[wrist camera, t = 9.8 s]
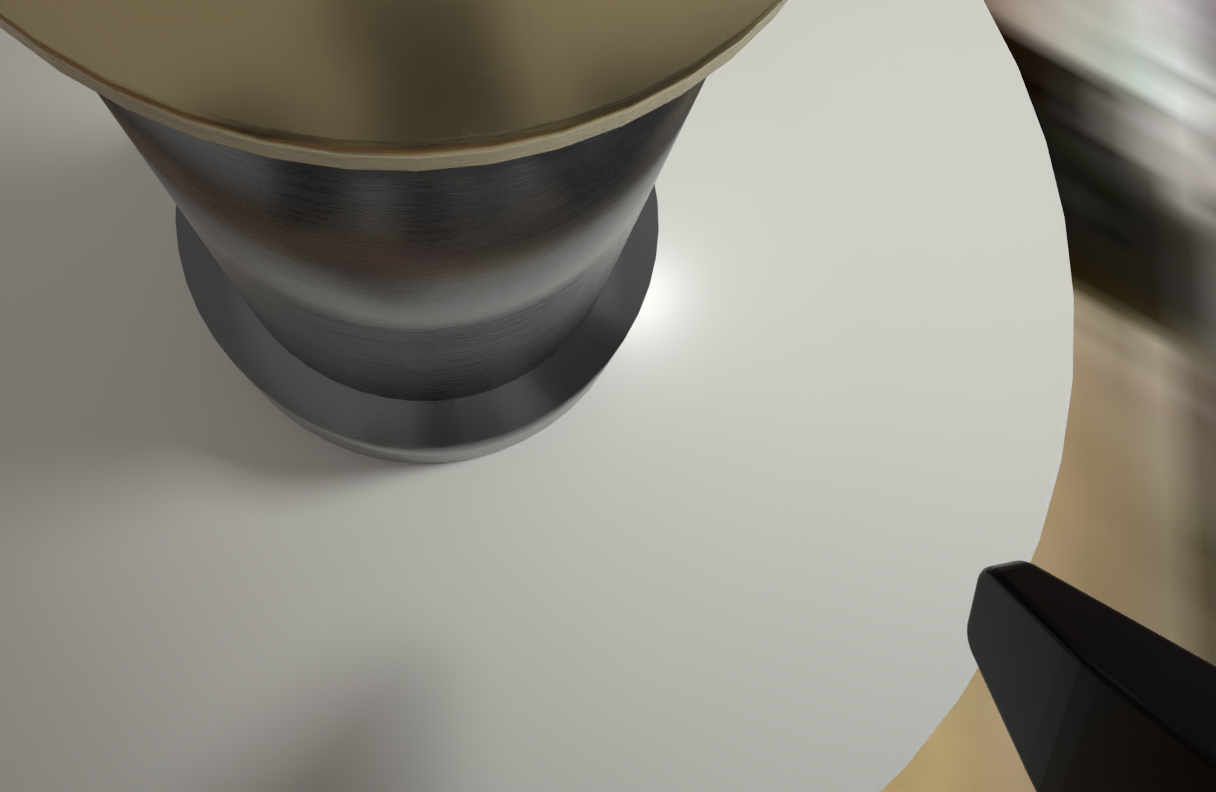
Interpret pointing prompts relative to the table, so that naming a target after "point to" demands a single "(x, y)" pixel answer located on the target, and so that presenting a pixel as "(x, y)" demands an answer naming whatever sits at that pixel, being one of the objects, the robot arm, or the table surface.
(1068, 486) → the table surface
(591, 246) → the brass-topped metal cylinder
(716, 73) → the white round disc
